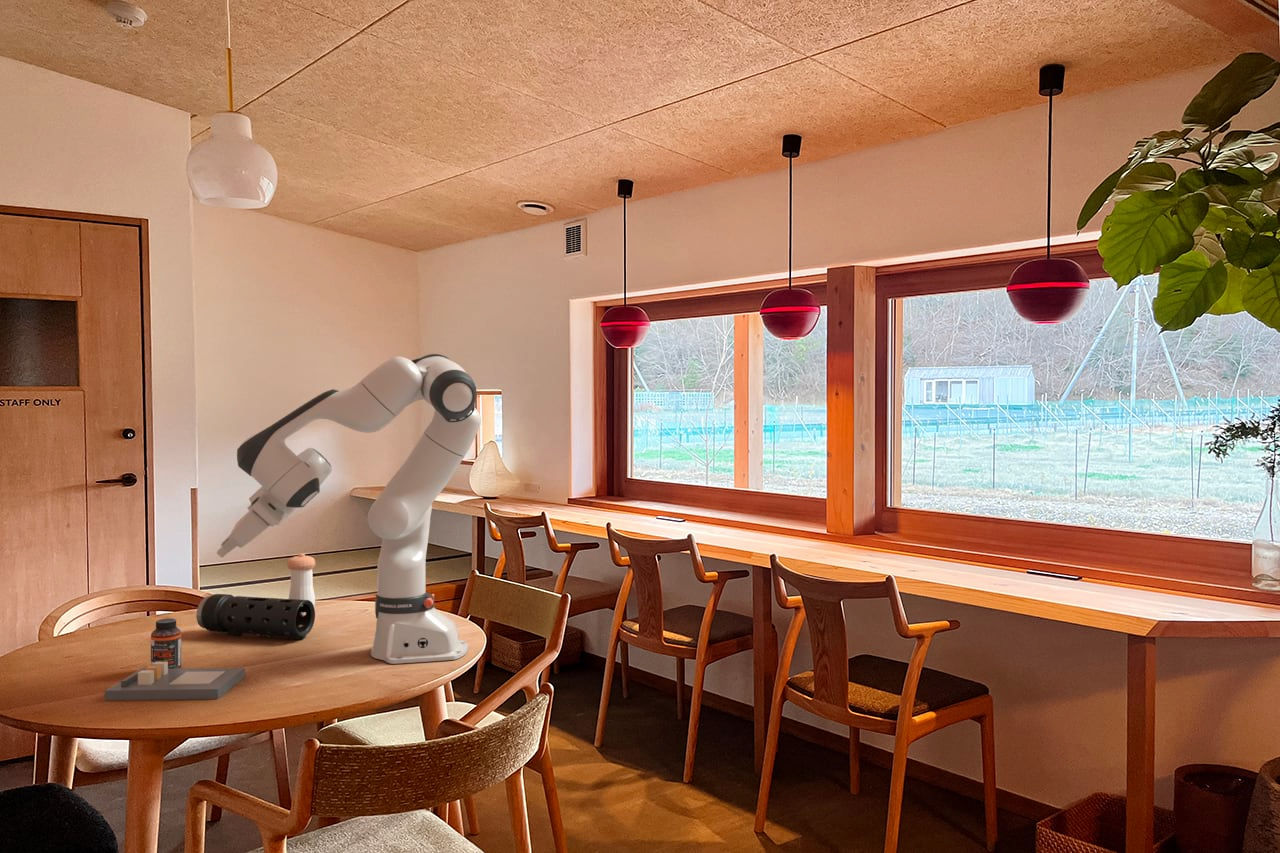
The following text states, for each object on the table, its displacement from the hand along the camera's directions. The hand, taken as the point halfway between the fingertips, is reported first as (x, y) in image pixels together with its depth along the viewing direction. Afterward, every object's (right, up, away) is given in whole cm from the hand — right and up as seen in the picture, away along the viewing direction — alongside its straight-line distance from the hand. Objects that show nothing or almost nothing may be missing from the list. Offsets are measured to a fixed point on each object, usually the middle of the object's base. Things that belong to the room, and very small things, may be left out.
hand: (221, 551), depth 197 cm
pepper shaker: (+4, -25, +38) cm, 46 cm away
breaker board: (-3, -27, -14) cm, 30 cm away
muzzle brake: (-4, -26, +26) cm, 37 cm away
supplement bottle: (-11, -26, -2) cm, 29 cm away
